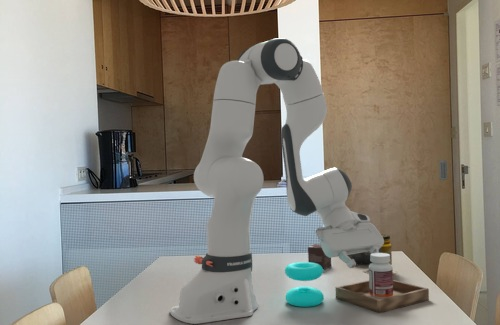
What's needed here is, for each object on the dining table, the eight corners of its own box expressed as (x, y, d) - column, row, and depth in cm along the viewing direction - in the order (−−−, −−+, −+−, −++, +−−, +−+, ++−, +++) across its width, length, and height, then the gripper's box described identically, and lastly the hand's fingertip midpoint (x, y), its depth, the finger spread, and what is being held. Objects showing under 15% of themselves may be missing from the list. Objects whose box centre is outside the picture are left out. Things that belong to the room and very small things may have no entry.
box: (331, 266, 181) (331, 245, 181) (324, 269, 176) (323, 248, 176) (315, 264, 184) (315, 243, 184) (308, 268, 179) (307, 246, 179)
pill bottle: (398, 297, 139) (397, 254, 139) (381, 301, 136) (381, 257, 135) (380, 292, 144) (379, 251, 144) (364, 296, 141) (363, 254, 141)
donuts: (301, 271, 132) (277, 264, 140) (302, 310, 132) (278, 301, 140) (330, 265, 137) (306, 259, 146) (331, 303, 138) (307, 295, 146)
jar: (363, 258, 193) (363, 237, 193) (381, 263, 184) (380, 241, 183) (340, 261, 189) (340, 240, 189) (357, 266, 180) (356, 244, 179)
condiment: (397, 273, 169) (396, 235, 168) (376, 276, 165) (375, 238, 165) (383, 268, 175) (382, 232, 175) (362, 271, 172) (361, 235, 172)
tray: (379, 312, 128) (379, 300, 128) (335, 298, 142) (335, 287, 142) (428, 300, 138) (428, 288, 138) (383, 287, 152) (383, 277, 151)
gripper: (317, 221, 145) (342, 262, 137) (372, 214, 156) (398, 252, 148) (308, 235, 149) (331, 276, 141) (361, 228, 160) (386, 265, 152)
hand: (366, 264), depth 144 cm, fingers open, 8 cm apart
